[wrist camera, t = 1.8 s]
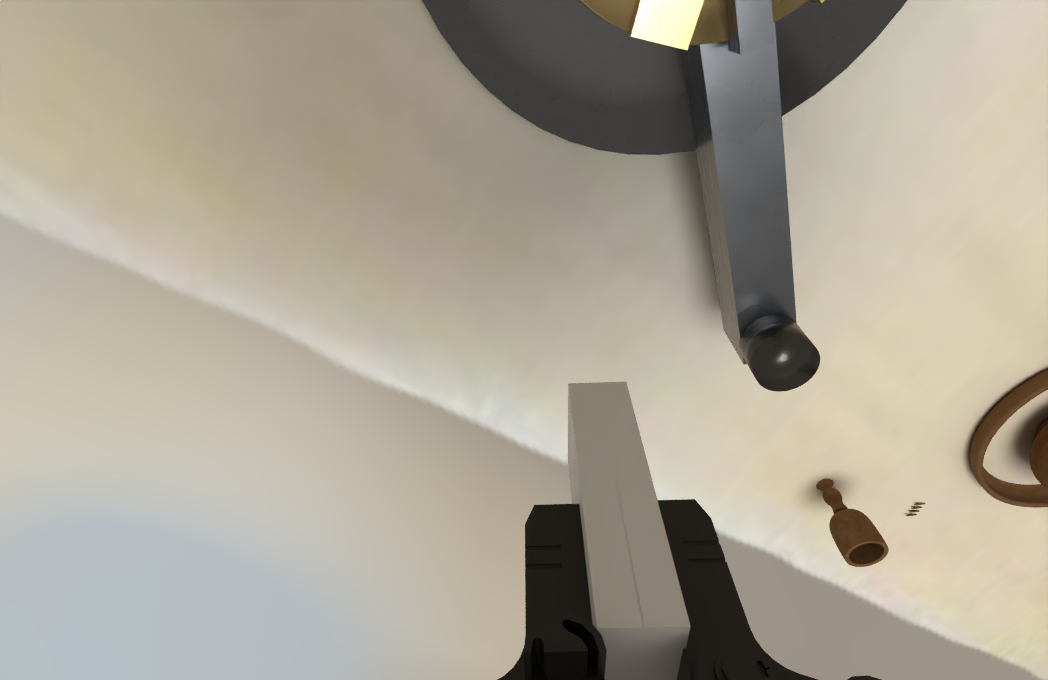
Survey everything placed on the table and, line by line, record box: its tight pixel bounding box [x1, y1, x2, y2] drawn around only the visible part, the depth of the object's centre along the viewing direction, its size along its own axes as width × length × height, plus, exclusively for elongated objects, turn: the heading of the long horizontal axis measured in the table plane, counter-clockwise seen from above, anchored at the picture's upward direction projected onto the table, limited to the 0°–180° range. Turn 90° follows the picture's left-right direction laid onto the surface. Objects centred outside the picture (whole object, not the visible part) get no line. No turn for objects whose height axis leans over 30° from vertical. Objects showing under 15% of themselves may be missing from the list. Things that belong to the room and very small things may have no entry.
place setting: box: [816, 370, 1048, 567], centre depth 32 cm, size 18×20×6 cm
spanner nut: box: [577, 0, 825, 391], centre depth 19 cm, size 25×11×5 cm, turn 18°
